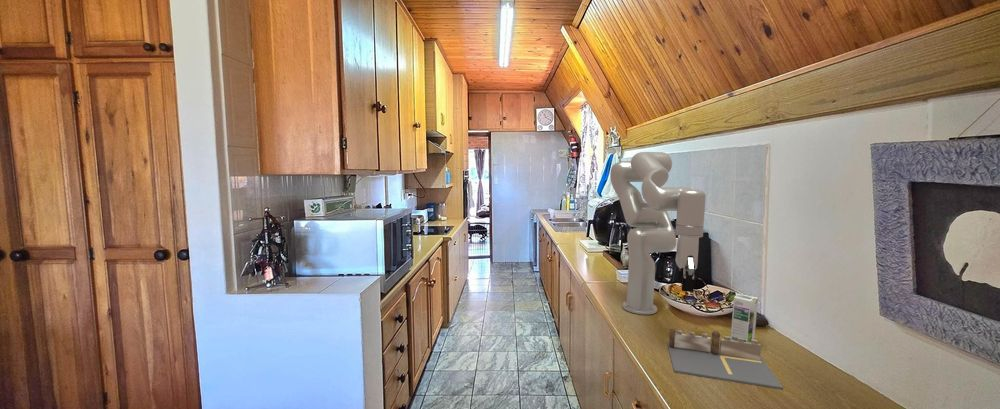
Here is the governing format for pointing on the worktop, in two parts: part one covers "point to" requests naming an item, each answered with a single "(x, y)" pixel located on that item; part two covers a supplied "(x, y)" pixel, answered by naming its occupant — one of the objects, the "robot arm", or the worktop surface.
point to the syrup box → (744, 317)
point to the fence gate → (689, 340)
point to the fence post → (735, 347)
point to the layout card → (722, 367)
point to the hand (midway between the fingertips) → (685, 286)
